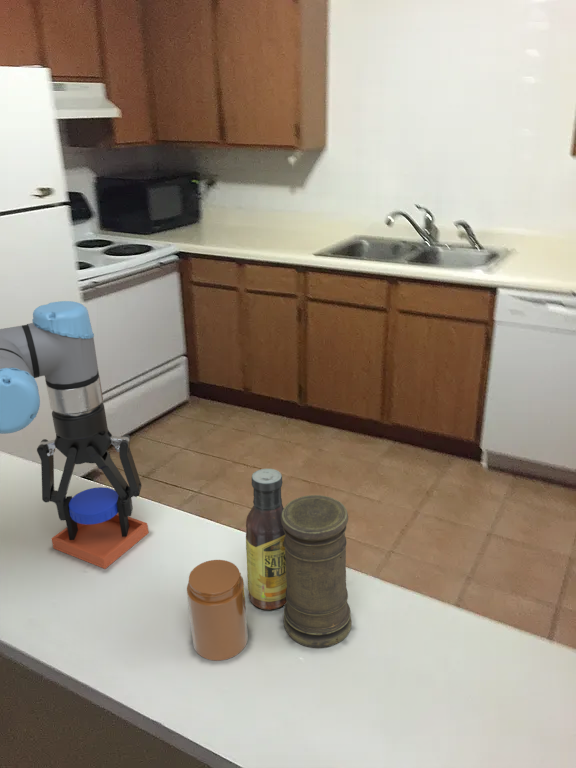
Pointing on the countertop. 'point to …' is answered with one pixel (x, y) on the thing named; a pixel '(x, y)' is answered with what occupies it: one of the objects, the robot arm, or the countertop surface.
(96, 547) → the tray
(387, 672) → the countertop surface
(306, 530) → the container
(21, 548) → the countertop surface
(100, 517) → the lid
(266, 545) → the sauce bottle
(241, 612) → the jar
